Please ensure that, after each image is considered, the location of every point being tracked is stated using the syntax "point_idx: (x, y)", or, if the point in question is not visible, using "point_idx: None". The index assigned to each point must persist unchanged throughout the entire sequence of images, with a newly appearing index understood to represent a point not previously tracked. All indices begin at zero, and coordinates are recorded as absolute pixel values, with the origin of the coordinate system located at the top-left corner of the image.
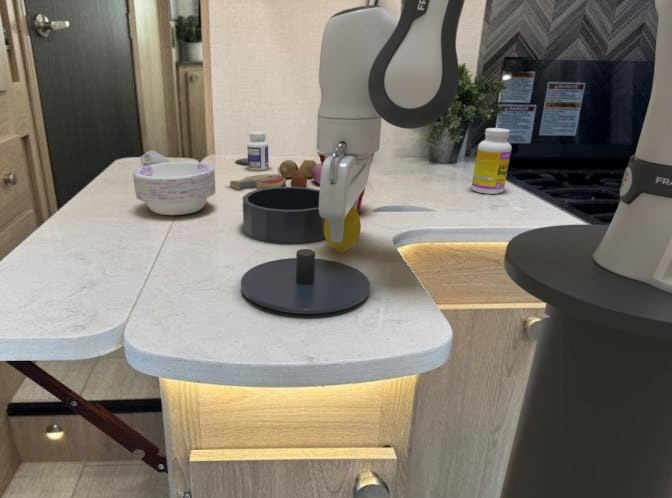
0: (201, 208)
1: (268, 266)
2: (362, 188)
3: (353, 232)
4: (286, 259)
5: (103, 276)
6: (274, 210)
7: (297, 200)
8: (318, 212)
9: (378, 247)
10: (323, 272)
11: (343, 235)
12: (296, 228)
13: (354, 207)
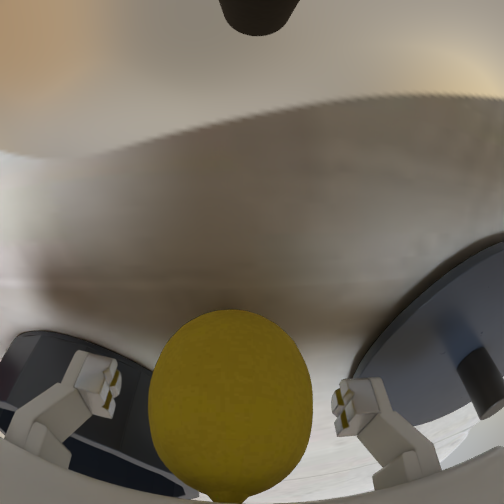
0: None
1: None
2: (30, 480)
3: (297, 368)
4: None
5: (357, 477)
6: (198, 493)
7: None
8: (134, 447)
9: (132, 195)
10: (449, 345)
11: (364, 391)
12: None
13: (65, 401)
